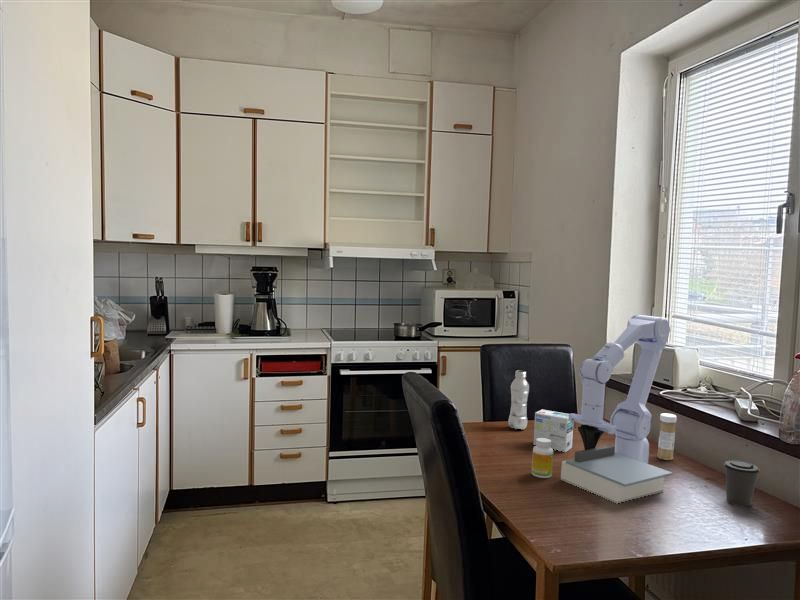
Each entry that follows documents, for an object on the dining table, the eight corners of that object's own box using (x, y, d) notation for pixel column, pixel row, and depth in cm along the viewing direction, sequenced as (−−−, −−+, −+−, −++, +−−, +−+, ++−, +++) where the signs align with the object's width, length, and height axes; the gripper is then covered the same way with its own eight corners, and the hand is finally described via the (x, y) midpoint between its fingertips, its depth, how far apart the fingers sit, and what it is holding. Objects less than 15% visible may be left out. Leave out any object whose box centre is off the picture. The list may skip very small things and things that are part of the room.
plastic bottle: (508, 430, 209) (511, 372, 208) (507, 425, 216) (511, 369, 214) (527, 432, 208) (530, 374, 207) (526, 427, 215) (530, 370, 213)
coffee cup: (760, 510, 149) (763, 470, 148) (722, 504, 151) (726, 465, 151) (753, 499, 156) (757, 460, 156) (718, 493, 159) (721, 455, 158)
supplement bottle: (552, 479, 164) (554, 443, 163) (531, 477, 165) (533, 441, 164) (551, 472, 169) (553, 438, 168) (531, 470, 170) (533, 436, 169)
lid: (611, 453, 172) (612, 443, 172) (672, 474, 156) (673, 463, 156) (565, 462, 162) (566, 451, 162) (625, 486, 146) (625, 474, 146)
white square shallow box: (605, 469, 173) (606, 452, 173) (662, 491, 158) (664, 472, 158) (560, 479, 164) (561, 461, 163) (617, 504, 149) (618, 484, 148)
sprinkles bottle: (661, 454, 190) (665, 412, 189) (676, 459, 186) (679, 415, 185) (654, 457, 187) (657, 413, 186) (668, 461, 183) (672, 417, 182)
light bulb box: (572, 448, 193) (574, 414, 192) (565, 453, 187) (568, 418, 187) (539, 441, 199) (541, 408, 198) (532, 446, 193) (534, 412, 192)
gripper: (562, 399, 170) (558, 447, 171) (604, 411, 158) (601, 463, 159) (579, 397, 174) (576, 444, 175) (622, 409, 162) (619, 459, 163)
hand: (589, 453), depth 167 cm, fingers closed
